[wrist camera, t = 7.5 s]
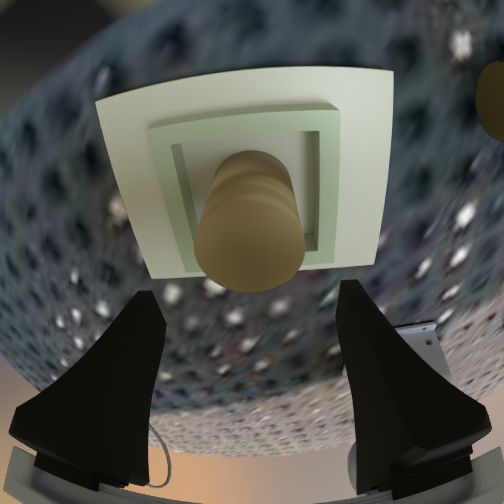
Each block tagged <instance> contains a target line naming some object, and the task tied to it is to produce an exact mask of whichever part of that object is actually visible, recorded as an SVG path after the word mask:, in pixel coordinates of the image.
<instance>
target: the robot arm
mask: <svg viewBox="0 0 504 504" xmlns="http://www.w3.org/2000/svg"><path fill="white" fill-rule="evenodd" d="M335 317H336V325H337V332H338V339H339V343H340V347H341V351H342V356H343V360H344V367H343V371H342V374H343V375H344V376H348V380H349V384H350V389H351V394H352V400H353V410H354V420H355V434H356V442H355V443H354V444H353V446H352V448H351V450H350V452H349V455H348V474H349V479H350V482H351V484H352V487H353V488H354V490H355V492H356V494H357V498H351V499H345V500H339V501H332V502H325V503H317V504H504V460H503V456H502V451H501V448H500V447H497V448H495V449H494V450H491V451H489V452H487V453H486V454H483V455H481V456H479V457H477V458H475V459H473V460H470V454H472V453H473V449H472V444H474V443H475V442H477V441H478V440H480V439H481V438H483V437H484V436H486V435H487V434H488V433H489V432H491V429H492V427H491V423H490V419H489V415H488V413H487V410H486V408H485V406H484V405H482V404H481V403H479V402H477V401H476V400H474V399H473V398H471V397H469V396H468V395H466V394H465V393H463V392H462V391H460V390H459V389H458V388H456V387H455V386H454V385H453V381H452V376H451V372H450V369H449V366H448V364H447V361H446V358H445V356H444V353H443V351H442V348H441V346H440V343H439V341H438V338H437V336H436V333H435V331H434V329H435V327H436V323H435V322H428V323H423V324H417V325H411V326H405V327H399V328H394V327H393V326H392V325H391V324H390V322H389V321H388V320H387V319H386V317H385V316H384V315H383V314H382V312H381V311H380V310H379V308H378V307H377V306H376V304H375V303H374V302H373V300H372V299H371V298H370V296H369V295H368V294H367V292H366V291H365V289H364V288H363V287H362V285H361V284H360V282H359V281H358V280H357V279H354V280H341V284H340V290H339V297H338V303H337V310H336V316H335ZM166 325H167V323H166V321H165V319H164V317H163V315H162V313H161V310H160V308H159V306H158V304H157V301H156V299H155V297H154V295H153V292H152V290H151V291H138V292H137V293H136V294H135V295H134V296H133V297H132V299H131V300H130V301H129V302H128V304H127V305H126V306H125V307H124V309H123V310H122V311H121V312H120V314H119V315H118V316H117V317H116V319H115V320H114V321H113V322H112V323H111V325H110V326H109V327H108V328H107V330H106V331H105V332H104V333H103V334H102V335H101V337H100V338H99V339H98V340H97V341H96V342H95V343H94V345H93V346H92V347H91V348H90V349H89V350H88V351H87V352H86V353H85V355H84V356H83V357H82V358H81V359H80V360H79V361H78V362H77V363H75V364H74V365H73V366H72V367H71V368H70V369H69V370H68V371H67V372H66V373H64V374H63V375H62V376H61V377H60V378H59V379H57V380H56V381H55V382H54V383H53V384H51V385H50V386H49V387H47V388H46V389H45V390H43V391H42V392H40V393H39V394H38V395H36V396H35V397H33V398H31V399H30V400H28V401H27V402H25V403H23V404H22V405H20V406H18V407H17V408H16V410H15V413H14V416H13V419H12V423H11V425H10V429H9V434H10V435H11V436H12V437H14V438H15V439H17V440H18V441H20V442H22V443H23V444H25V445H26V446H28V447H30V448H32V449H33V450H35V451H37V455H36V456H34V455H32V454H30V453H28V452H26V451H24V450H22V449H20V448H18V447H16V446H14V447H13V449H12V453H11V457H10V461H9V465H8V469H7V473H6V478H5V483H4V488H3V490H4V492H6V493H7V494H9V495H10V496H12V497H13V498H15V499H16V500H18V501H19V502H21V503H22V504H200V503H192V502H184V501H177V500H171V499H165V498H160V497H155V496H150V495H145V494H140V493H136V492H132V491H128V490H124V489H120V488H119V487H120V485H124V486H128V485H129V483H131V484H134V485H139V486H145V485H147V484H148V483H149V482H150V480H149V466H148V433H149V417H150V407H151V399H152V394H153V389H154V385H155V381H156V377H157V373H158V369H159V365H160V360H161V356H162V352H163V348H164V342H165V334H166Z"/></svg>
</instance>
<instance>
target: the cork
mask: <svg viewBox="0 0 504 504" xmlns="http://www.w3.org/2000/svg"><path fill="white" fill-rule="evenodd" d="M475 105H476V110H477V114H478V118H479V120H480V122H481V125H482V127H483V129H484V130H485V131H486V132H487V133H488V134H489V135H490V136H491V137H493V138H495V139H497V140H499V141H502V142H504V62H501V61H496V62H492V63H489V64H488V65H487V66H486V67H485V68H484V69H483V70H482V72H481V74H480V76H479V78H478V81H477V86H476V90H475Z"/></svg>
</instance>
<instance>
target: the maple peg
mask: <svg viewBox="0 0 504 504" xmlns="http://www.w3.org/2000/svg"><path fill="white" fill-rule="evenodd" d="M194 255H195V258H196V261H197V263H198V265H199V267H200V268H201V270H202V271H203V272H204V273H205V274H206V275H207V276H208V277H209V278H210V279H211V280H213V281H214V282H215V283H217V284H219V285H221V286H223V287H225V288H228V289H231V290H235V291H240V292H261V291H266V290H270V289H273V288H276V287H278V286H280V285H282V284H284V283H285V282H287V281H288V280H289V279H291V278H292V277H293V276H294V275H295V274H296V273H297V271H298V270H299V268H300V267H301V265H302V263H303V260H304V257H305V240H304V235H303V231H302V226H301V221H300V217H299V212H298V208H297V204H296V199H295V195H294V191H293V187H292V182H291V178H290V175H289V172H288V170H287V169H286V167H285V166H284V164H283V163H282V162H281V161H280V160H278V159H277V158H276V157H274V156H272V155H271V154H268V153H266V152H262V151H257V150H248V151H242V152H238V153H236V154H233V155H232V156H230V157H228V158H227V159H226V160H224V161H223V162H222V163H221V165H220V166H219V167H218V169H217V171H216V173H215V176H214V179H213V182H212V185H211V188H210V191H209V194H208V197H207V200H206V203H205V206H204V209H203V212H202V216H201V219H200V222H199V225H198V228H197V232H196V235H195V239H194Z"/></svg>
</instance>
